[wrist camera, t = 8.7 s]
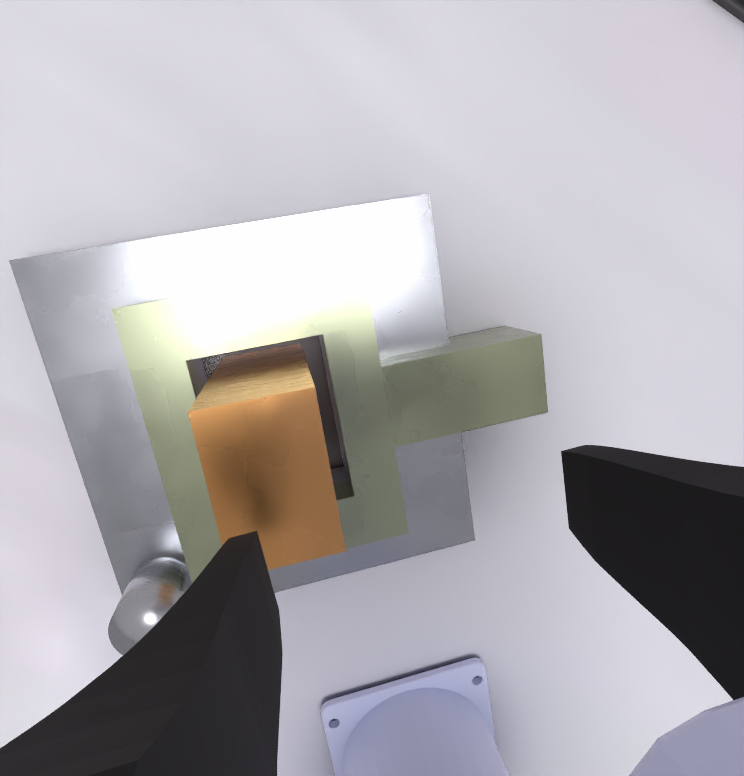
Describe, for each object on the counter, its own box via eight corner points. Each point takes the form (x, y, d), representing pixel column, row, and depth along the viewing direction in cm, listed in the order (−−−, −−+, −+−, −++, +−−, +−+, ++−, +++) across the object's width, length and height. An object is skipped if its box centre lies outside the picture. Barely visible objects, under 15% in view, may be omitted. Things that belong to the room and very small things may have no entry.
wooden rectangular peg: (320, 449, 21) (346, 551, 13) (247, 464, 21) (230, 579, 13) (300, 343, 20) (315, 387, 12) (223, 357, 19) (187, 411, 12)
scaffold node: (524, 507, 23) (572, 553, 19) (143, 604, 21) (113, 678, 17) (491, 187, 20) (542, 167, 16) (31, 261, 18) (-38, 257, 14)
